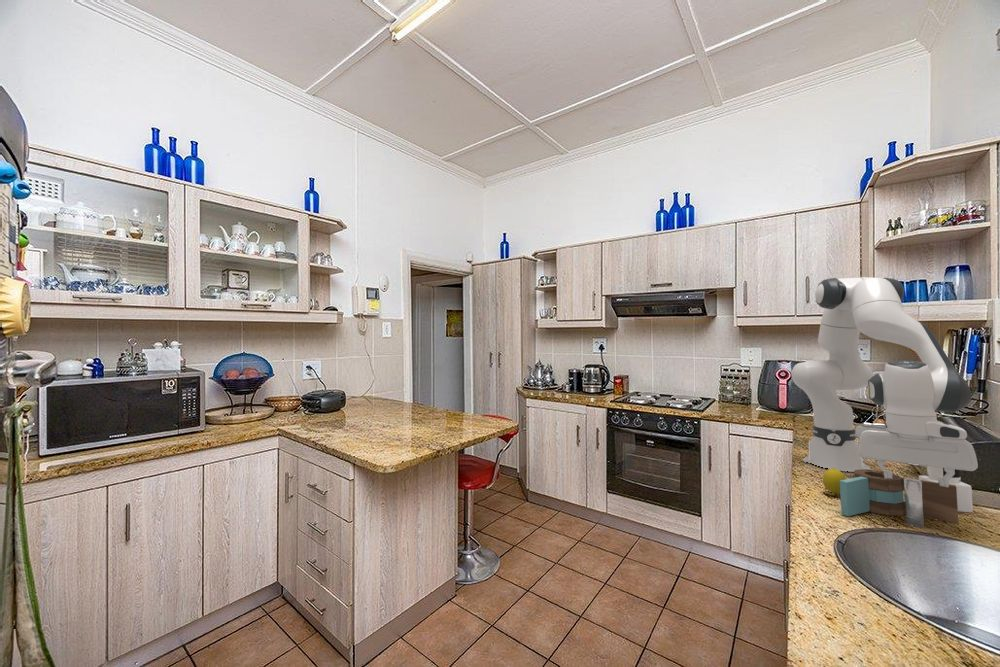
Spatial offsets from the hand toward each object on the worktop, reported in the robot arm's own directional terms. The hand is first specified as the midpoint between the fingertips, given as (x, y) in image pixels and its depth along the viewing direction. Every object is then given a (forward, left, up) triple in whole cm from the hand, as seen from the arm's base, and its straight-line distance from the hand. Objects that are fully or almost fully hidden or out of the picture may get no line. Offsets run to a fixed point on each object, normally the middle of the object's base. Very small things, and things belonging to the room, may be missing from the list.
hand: (915, 482), depth 96 cm
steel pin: (0, 0, -11) cm, 11 cm away
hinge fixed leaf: (-8, -2, -11) cm, 14 cm away
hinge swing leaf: (-4, -9, -10) cm, 14 cm away
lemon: (-13, -15, -11) cm, 23 cm away
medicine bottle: (-21, +8, -11) cm, 25 cm away
